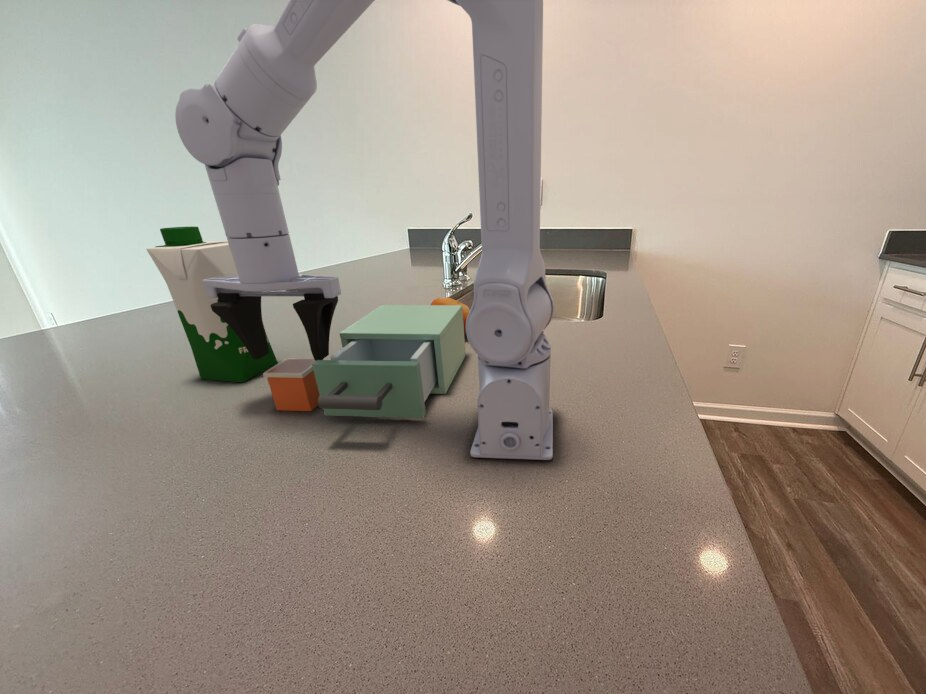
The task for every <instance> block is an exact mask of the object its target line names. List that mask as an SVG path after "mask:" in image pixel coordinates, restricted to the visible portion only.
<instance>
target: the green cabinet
mask: <svg viewBox="0 0 926 694" xmlns="http://www.w3.org/2000/svg"><path fill="white" fill-rule="evenodd" d="M339 338H340V343H341V347H342V348H343V347H345V346H346V345H347V344H349V343H350V342H351V341H353V340H354V339H398V340H434V347H435V356H436V365H437V374H438V381H437V382H436V384H435V386H434V387H433V389H432V390H431V392H430V394H429V395H446V394H447V392H448V390H449V388H450V386H451V385H452V382H453V380H454V379H455V376H456V375H457V373H458V371H459V369H460V367H461V365H462V363H463V361H464V360H465V358H466V355H467V354H466V353H467V352H466V339H465V336H464V324H463V311H462V305H431V304H381V305H379V306H378V307H376V308H375V309H373V310H372V311H370V312H368V313H367V314H365V315H364V316H363V317H361V318H360V319H358V320H357V321H355V322H354V323H353V324H350V325H349V326H348V327H346V328H345V329H343V330H342V331H340V332H339ZM342 348H341V349H342Z"/></svg>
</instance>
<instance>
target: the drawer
mask: <svg viewBox="0 0 926 694" xmlns="http://www.w3.org/2000/svg"><path fill="white" fill-rule="evenodd" d="M312 366H313V370H314V374H315V378H316V382H317V386H318V390H319V394H320V396H319V398H318V406H317V407H318V408H319V409H322V410H323V415H324V416H331V417H332V416H335V417H336V416H337V417H338V416H339V417H367V418H368V417H369V418H371V417H372V418H373V417H374V418H406V419H410V418H411V419H423V418H424V417H425V415H426V413H427V411H426V405H425V402H426V400H427V399H428V397H429V395H431V394H430V392H431V390H432V389H433V387H434V386H435V384H436V382H437V381H438V374H437V365H436V356H435V347H434V340H398V339H354V340H353V341H351V342H350V343H349V344H347V345H346V346H345V347H343V348H341V349H339V350H338V351H336V352H335V353H334V354H332V355H331V356H330V359H323V360H317V361H316V362H314V363H313V364H312Z"/></svg>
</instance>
